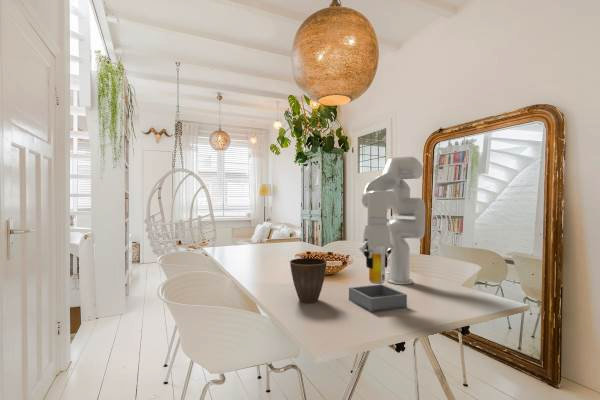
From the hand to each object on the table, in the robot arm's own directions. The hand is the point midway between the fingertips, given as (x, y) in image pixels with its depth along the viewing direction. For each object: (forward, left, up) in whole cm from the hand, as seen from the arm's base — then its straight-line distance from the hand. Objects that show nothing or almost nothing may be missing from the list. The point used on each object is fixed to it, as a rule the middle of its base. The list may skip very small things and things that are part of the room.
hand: (376, 266), depth 126 cm
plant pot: (-13, -24, -15) cm, 31 cm away
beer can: (0, 0, -6) cm, 6 cm away
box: (0, 0, -14) cm, 14 cm away
